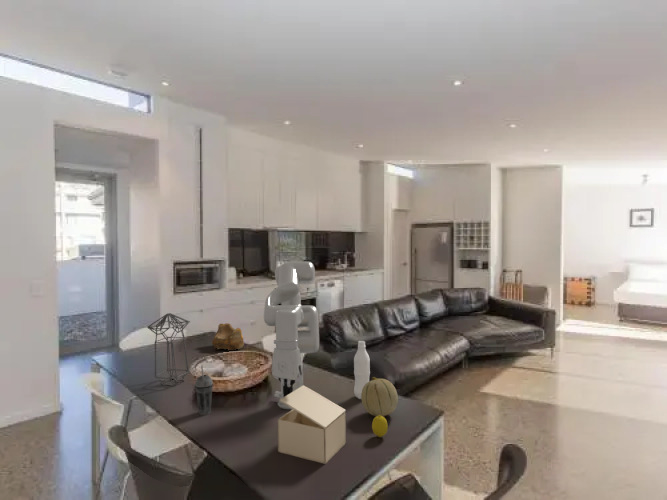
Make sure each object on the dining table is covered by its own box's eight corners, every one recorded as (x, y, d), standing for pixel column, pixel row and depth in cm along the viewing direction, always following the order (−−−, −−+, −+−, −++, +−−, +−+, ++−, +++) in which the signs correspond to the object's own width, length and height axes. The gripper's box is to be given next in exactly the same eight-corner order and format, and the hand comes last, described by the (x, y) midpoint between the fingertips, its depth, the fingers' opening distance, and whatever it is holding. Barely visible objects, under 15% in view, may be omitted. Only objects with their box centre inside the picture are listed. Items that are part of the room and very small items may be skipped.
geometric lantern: (175, 389, 209) (171, 316, 208) (148, 387, 214) (144, 316, 213) (195, 378, 224) (191, 310, 223) (170, 376, 229) (166, 310, 228)
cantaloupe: (393, 425, 167) (393, 386, 166) (356, 420, 172) (356, 382, 171) (401, 410, 181) (401, 374, 180) (367, 406, 186) (366, 370, 185)
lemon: (371, 434, 160) (370, 412, 159) (386, 433, 160) (385, 411, 160) (373, 441, 154) (373, 418, 154) (389, 440, 155) (389, 418, 154)
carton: (278, 452, 148) (277, 419, 147) (301, 433, 161) (300, 403, 161) (325, 463, 139) (324, 429, 139) (345, 443, 153) (345, 412, 152)
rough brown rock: (205, 349, 287) (203, 326, 286) (227, 342, 299) (226, 320, 297) (223, 357, 271) (221, 333, 269) (246, 349, 282) (244, 326, 280)
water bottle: (369, 400, 192) (368, 343, 191) (353, 399, 193) (352, 343, 192) (371, 394, 199) (370, 339, 198) (355, 393, 200) (354, 339, 199)
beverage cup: (217, 410, 184) (216, 362, 183) (207, 417, 177) (205, 368, 176) (202, 408, 186) (201, 361, 185) (191, 415, 179) (190, 366, 178)
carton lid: (279, 400, 146) (280, 399, 146) (303, 386, 160) (303, 385, 160) (324, 428, 139) (325, 427, 139) (345, 411, 152) (345, 409, 152)
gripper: (263, 344, 153) (264, 396, 154) (299, 349, 146) (300, 404, 147) (275, 340, 160) (276, 390, 161) (311, 344, 153) (311, 396, 154)
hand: (288, 396), depth 154 cm, fingers closed
